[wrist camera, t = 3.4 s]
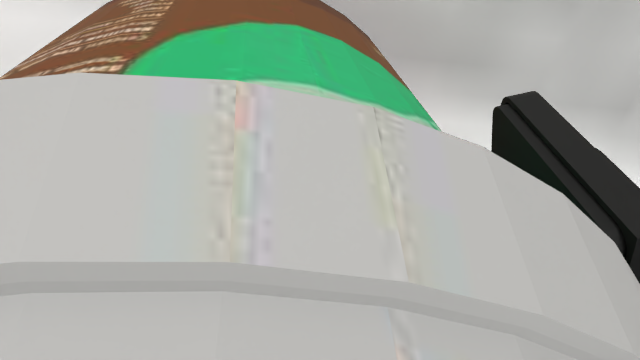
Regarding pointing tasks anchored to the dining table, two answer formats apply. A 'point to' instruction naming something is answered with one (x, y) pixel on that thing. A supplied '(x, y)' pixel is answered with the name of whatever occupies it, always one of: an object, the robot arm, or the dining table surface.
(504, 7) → the dining table surface
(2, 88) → the food container
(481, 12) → the dining table surface
